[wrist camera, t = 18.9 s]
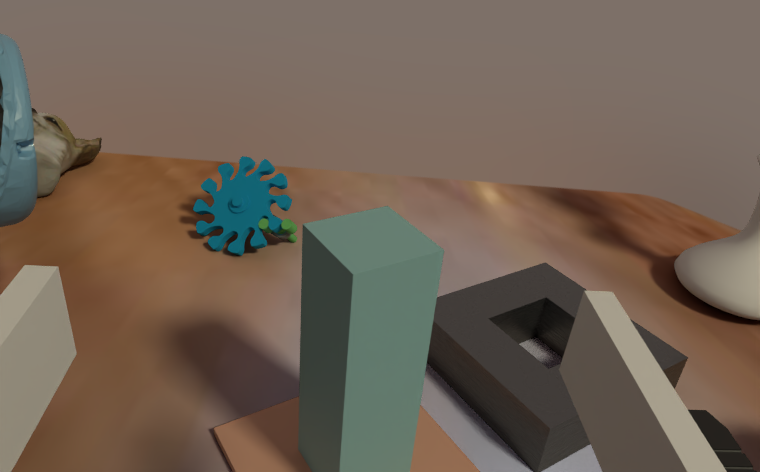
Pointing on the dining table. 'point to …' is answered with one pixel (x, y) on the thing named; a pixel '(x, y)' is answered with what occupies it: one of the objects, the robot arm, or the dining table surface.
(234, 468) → the mat
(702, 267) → the flower in vase
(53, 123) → the ceramic sculpture
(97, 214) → the dining table surface
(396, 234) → the peg
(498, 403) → the socket block
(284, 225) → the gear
